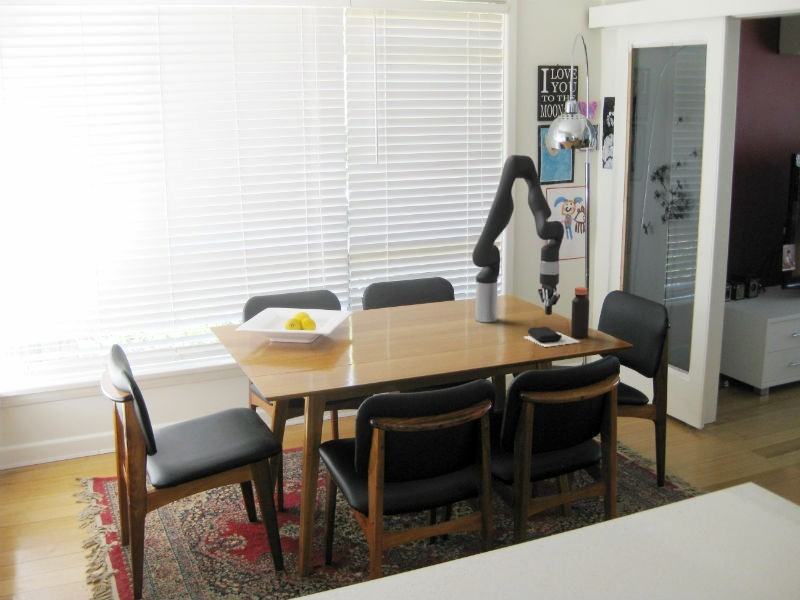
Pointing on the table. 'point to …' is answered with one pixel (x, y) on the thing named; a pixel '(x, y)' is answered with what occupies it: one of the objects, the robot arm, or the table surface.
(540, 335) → the carrying case or bag
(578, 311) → the bottle
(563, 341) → the cream paper sheet
